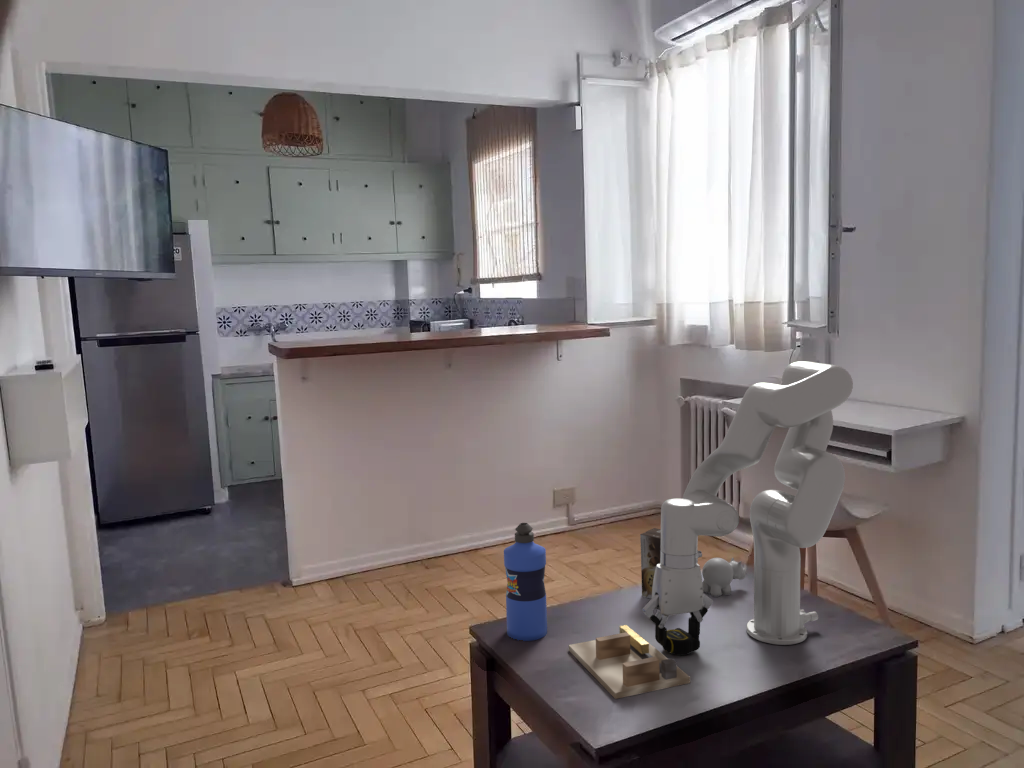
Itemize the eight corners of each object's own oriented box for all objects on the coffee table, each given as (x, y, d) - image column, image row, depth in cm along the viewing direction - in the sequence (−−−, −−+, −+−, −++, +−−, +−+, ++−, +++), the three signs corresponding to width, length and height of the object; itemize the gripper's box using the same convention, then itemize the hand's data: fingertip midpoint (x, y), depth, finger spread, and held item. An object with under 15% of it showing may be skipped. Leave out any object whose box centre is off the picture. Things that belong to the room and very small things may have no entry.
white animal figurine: (756, 592, 198) (756, 557, 197) (713, 600, 194) (713, 565, 193) (737, 582, 205) (737, 549, 204) (696, 590, 201) (695, 556, 200)
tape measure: (701, 654, 166) (701, 636, 166) (674, 661, 163) (674, 643, 163) (681, 641, 172) (681, 624, 172) (655, 648, 169) (654, 631, 169)
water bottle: (535, 620, 185) (532, 515, 183) (555, 635, 177) (552, 525, 174) (499, 629, 181) (495, 522, 178) (518, 644, 173) (514, 532, 170)
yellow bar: (626, 633, 173) (626, 624, 172) (648, 652, 163) (648, 643, 163) (619, 634, 172) (619, 626, 172) (641, 654, 163) (641, 644, 162)
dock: (636, 637, 175) (635, 614, 174) (690, 682, 154) (690, 657, 153) (568, 650, 170) (568, 626, 169) (615, 699, 149) (614, 672, 148)
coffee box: (686, 597, 196) (686, 533, 194) (671, 605, 192) (671, 540, 190) (655, 588, 203) (654, 526, 201) (640, 596, 198) (639, 533, 196)
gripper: (705, 549, 172) (703, 628, 174) (632, 558, 167) (632, 640, 168) (725, 559, 165) (723, 642, 167) (650, 569, 159) (649, 655, 161)
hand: (677, 640), depth 168 cm, fingers closed on tape measure, 7 cm apart
